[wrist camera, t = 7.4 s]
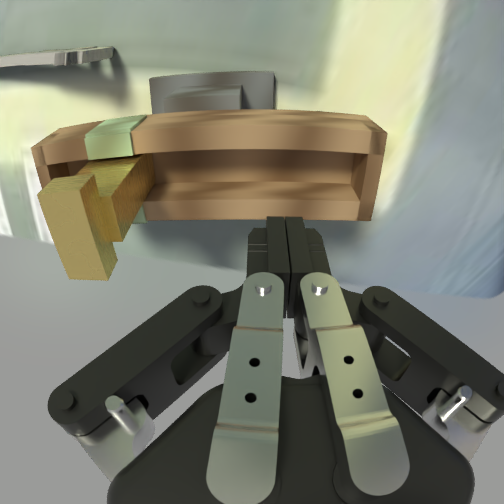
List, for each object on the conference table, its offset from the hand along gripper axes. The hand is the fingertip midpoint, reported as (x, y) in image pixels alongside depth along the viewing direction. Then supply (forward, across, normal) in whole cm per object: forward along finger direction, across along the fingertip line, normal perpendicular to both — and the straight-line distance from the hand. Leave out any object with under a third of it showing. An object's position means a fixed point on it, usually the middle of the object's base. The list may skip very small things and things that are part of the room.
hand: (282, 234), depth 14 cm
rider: (+8, +10, 0) cm, 13 cm away
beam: (+16, +5, 0) cm, 16 cm away
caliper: (+16, +23, -10) cm, 30 cm away
